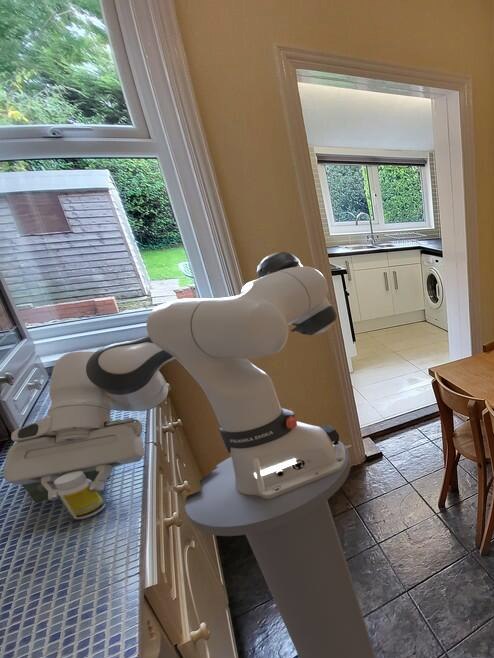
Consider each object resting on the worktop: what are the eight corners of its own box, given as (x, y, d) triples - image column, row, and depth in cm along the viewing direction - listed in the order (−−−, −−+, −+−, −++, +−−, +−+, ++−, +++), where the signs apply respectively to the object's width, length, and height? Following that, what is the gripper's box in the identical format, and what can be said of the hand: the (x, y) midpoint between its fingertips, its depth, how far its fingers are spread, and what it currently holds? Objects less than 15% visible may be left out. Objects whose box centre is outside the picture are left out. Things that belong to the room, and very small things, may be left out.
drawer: (108, 488, 86) (92, 461, 83) (30, 514, 79) (10, 486, 77) (113, 453, 98) (100, 428, 96) (47, 473, 92) (30, 447, 89)
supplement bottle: (112, 504, 82) (92, 470, 79) (86, 521, 78) (64, 485, 75) (93, 502, 83) (72, 468, 80) (66, 519, 79) (43, 484, 75)
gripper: (150, 420, 88) (151, 483, 84) (28, 442, 82) (22, 511, 78) (132, 411, 83) (131, 478, 78) (0, 434, 77) (-9, 508, 72)
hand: (76, 495), depth 78 cm, fingers closed on supplement bottle, 5 cm apart
